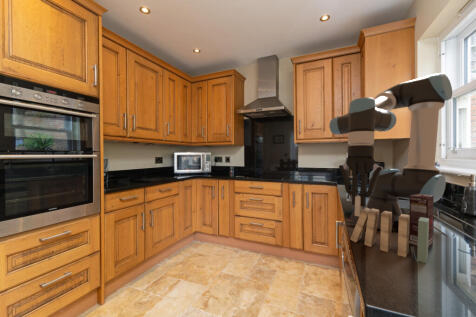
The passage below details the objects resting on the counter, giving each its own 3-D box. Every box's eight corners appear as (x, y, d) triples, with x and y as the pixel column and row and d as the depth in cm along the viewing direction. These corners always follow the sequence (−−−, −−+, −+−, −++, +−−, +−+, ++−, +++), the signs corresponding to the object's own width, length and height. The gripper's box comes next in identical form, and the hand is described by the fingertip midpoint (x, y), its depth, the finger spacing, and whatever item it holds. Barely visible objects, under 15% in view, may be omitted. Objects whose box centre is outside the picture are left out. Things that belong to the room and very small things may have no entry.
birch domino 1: (355, 235, 70) (366, 207, 67) (360, 238, 69) (372, 210, 66) (350, 239, 66) (362, 209, 64) (355, 242, 65) (368, 212, 63)
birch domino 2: (368, 240, 67) (372, 208, 66) (375, 242, 66) (379, 210, 65) (364, 244, 63) (368, 210, 63) (370, 246, 62) (375, 212, 61)
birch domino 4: (400, 249, 61) (401, 213, 61) (408, 252, 59) (409, 215, 59) (397, 254, 57) (398, 216, 57) (405, 257, 56) (407, 218, 56)
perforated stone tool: (349, 225, 82) (350, 209, 82) (350, 222, 87) (350, 206, 87) (395, 234, 74) (396, 215, 74) (394, 230, 79) (394, 212, 79)
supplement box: (414, 237, 71) (416, 193, 71) (433, 242, 67) (434, 195, 67) (407, 243, 66) (408, 195, 66) (427, 248, 62) (428, 197, 62)
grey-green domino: (419, 255, 58) (420, 217, 58) (427, 257, 56) (429, 218, 56) (417, 260, 54) (418, 220, 54) (426, 263, 53) (427, 222, 53)
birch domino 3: (383, 245, 64) (384, 210, 64) (390, 247, 62) (391, 212, 62) (380, 249, 60) (381, 213, 60) (387, 251, 59) (388, 214, 59)
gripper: (386, 145, 65) (384, 218, 65) (344, 146, 74) (342, 209, 74) (381, 143, 60) (378, 222, 60) (335, 145, 69) (333, 212, 69)
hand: (358, 215), depth 67 cm, fingers closed
